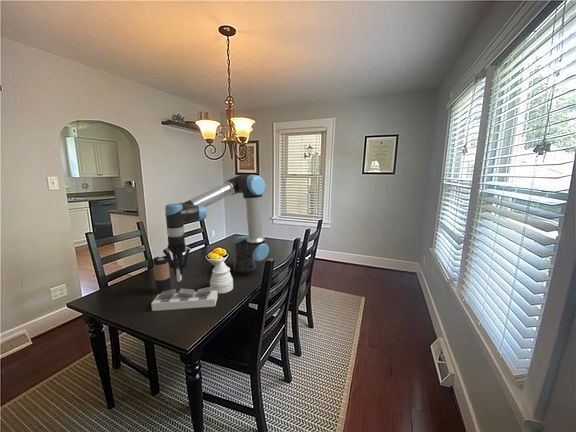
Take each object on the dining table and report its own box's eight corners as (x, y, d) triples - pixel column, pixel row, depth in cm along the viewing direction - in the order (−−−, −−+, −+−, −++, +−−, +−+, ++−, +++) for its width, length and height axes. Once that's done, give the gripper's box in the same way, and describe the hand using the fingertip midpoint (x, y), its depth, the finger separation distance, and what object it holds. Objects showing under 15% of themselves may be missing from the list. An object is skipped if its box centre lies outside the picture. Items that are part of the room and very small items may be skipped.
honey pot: (232, 292, 140) (231, 262, 136) (208, 294, 138) (206, 263, 134) (233, 282, 152) (232, 254, 149) (212, 284, 150) (210, 255, 147)
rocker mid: (194, 292, 131) (194, 289, 131) (192, 297, 126) (192, 294, 126) (180, 291, 130) (180, 288, 130) (177, 295, 125) (177, 292, 125)
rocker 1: (176, 291, 130) (175, 288, 129) (173, 296, 125) (172, 293, 125) (162, 294, 129) (161, 291, 129) (159, 299, 124) (158, 296, 124)
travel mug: (163, 296, 136) (160, 261, 132) (153, 293, 138) (149, 259, 134) (174, 289, 143) (171, 256, 139) (164, 287, 145) (160, 255, 142)
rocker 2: (211, 289, 132) (211, 286, 132) (210, 293, 127) (209, 290, 127) (198, 292, 131) (197, 289, 131) (196, 296, 127) (195, 294, 126)
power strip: (217, 297, 134) (217, 290, 134) (215, 306, 126) (214, 298, 125) (159, 301, 131) (158, 294, 130) (152, 311, 122) (151, 303, 121)
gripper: (191, 233, 126) (194, 276, 131) (164, 233, 124) (168, 277, 129) (187, 236, 119) (191, 282, 123) (159, 237, 117) (163, 284, 122)
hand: (179, 280), depth 126 cm, fingers closed
